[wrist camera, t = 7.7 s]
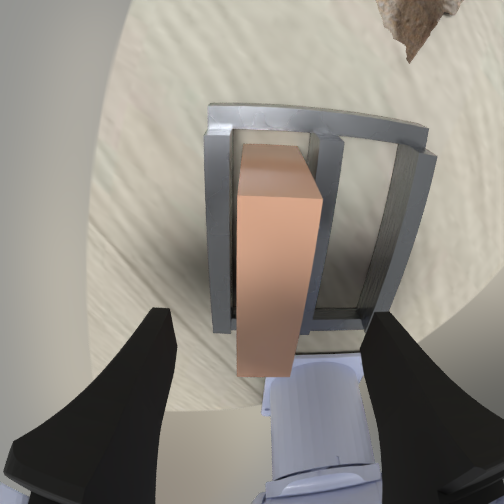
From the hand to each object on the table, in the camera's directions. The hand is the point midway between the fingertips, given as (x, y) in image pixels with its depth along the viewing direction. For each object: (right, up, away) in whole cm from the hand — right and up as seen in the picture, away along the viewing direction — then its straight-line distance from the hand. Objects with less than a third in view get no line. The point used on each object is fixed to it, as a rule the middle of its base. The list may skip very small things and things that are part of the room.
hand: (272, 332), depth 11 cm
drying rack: (+2, +4, +6) cm, 7 cm away
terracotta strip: (0, +4, +6) cm, 7 cm away
